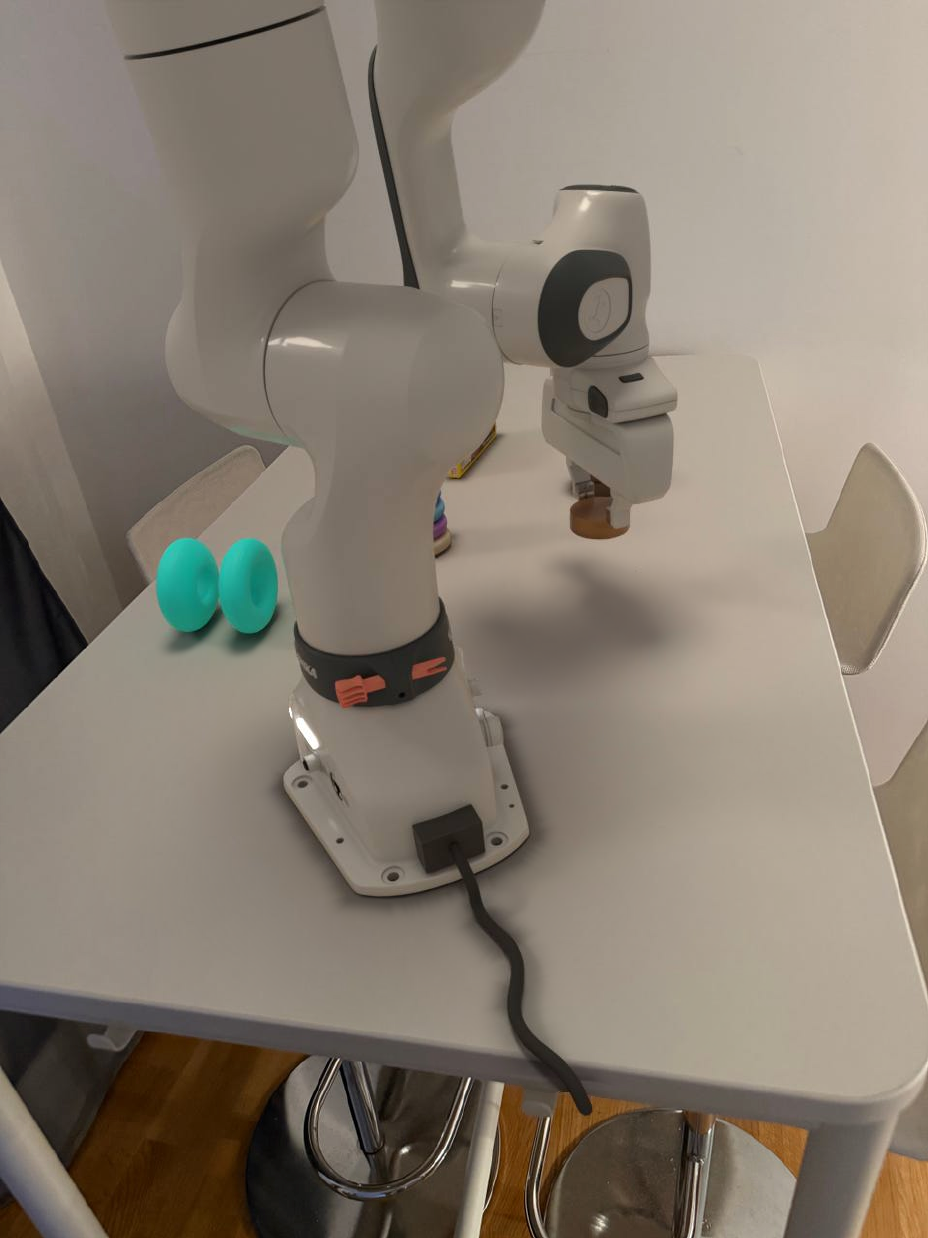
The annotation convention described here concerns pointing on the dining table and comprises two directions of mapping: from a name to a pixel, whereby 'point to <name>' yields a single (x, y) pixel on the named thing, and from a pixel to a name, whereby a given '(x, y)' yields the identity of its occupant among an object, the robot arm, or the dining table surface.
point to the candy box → (472, 456)
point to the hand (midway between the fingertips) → (600, 511)
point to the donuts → (217, 585)
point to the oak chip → (593, 519)
